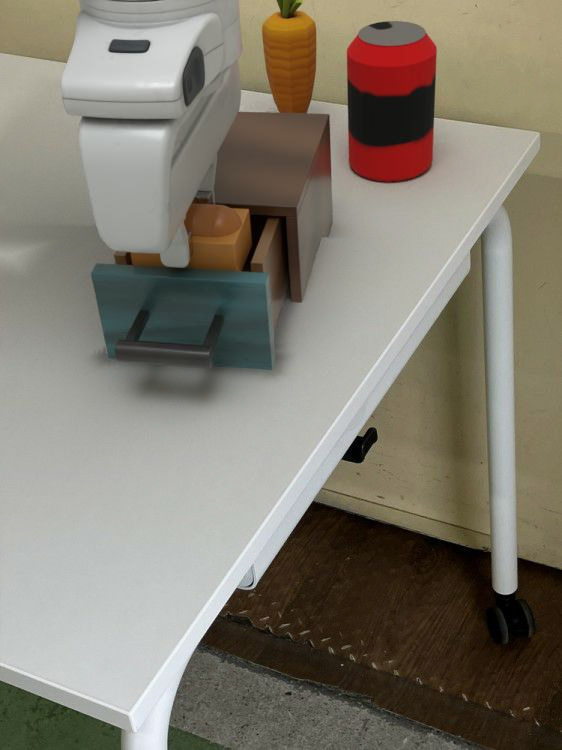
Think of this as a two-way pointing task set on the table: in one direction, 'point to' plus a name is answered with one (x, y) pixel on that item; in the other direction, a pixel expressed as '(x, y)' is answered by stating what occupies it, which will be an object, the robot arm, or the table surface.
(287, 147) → the cabinet
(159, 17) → the robot arm
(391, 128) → the soda can
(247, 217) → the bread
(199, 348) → the drawer
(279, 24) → the carrot
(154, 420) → the table surface
